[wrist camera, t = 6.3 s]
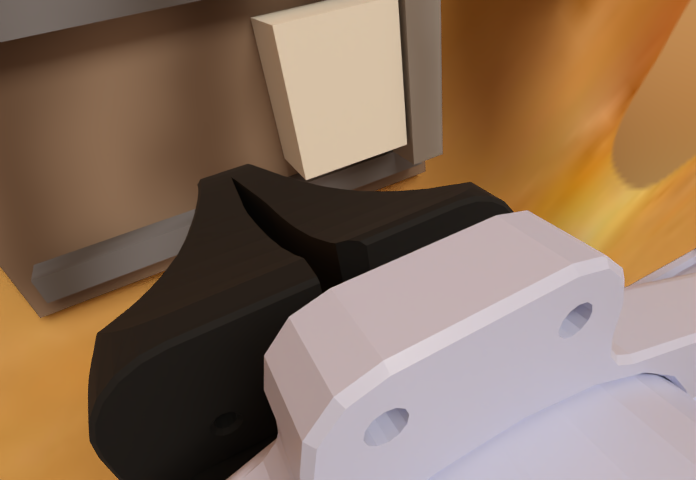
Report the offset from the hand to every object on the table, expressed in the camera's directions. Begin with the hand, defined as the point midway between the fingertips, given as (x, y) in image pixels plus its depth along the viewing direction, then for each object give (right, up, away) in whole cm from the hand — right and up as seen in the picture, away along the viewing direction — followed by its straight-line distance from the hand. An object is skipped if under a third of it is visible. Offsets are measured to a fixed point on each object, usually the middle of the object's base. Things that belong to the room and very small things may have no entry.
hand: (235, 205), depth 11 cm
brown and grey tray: (-3, +5, +8) cm, 10 cm away
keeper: (+1, +7, +9) cm, 11 cm away
